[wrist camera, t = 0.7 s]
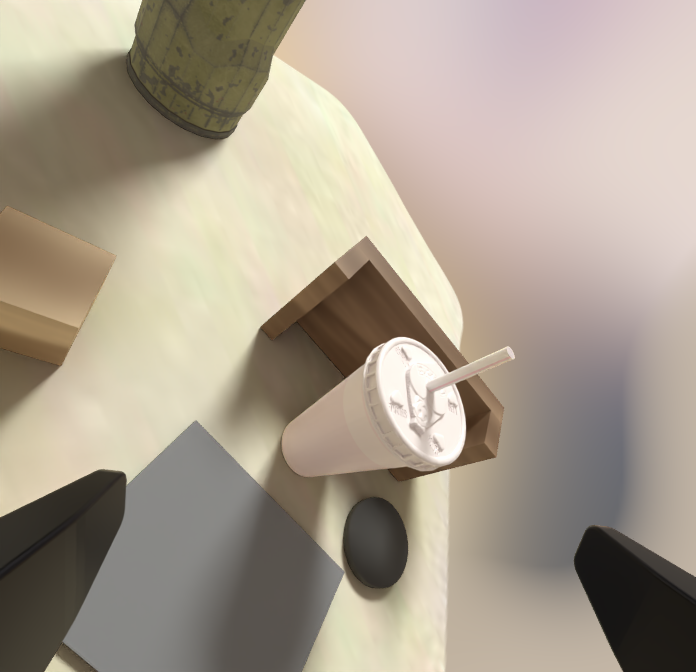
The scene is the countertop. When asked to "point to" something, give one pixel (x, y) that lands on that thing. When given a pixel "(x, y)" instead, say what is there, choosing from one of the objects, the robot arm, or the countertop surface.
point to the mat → (204, 574)
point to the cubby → (385, 337)
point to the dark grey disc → (376, 543)
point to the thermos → (206, 58)
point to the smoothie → (386, 415)
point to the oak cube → (45, 286)
